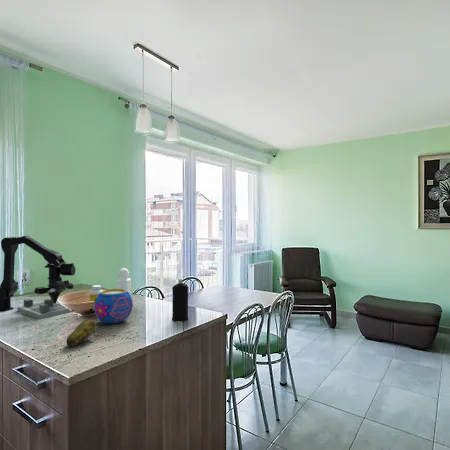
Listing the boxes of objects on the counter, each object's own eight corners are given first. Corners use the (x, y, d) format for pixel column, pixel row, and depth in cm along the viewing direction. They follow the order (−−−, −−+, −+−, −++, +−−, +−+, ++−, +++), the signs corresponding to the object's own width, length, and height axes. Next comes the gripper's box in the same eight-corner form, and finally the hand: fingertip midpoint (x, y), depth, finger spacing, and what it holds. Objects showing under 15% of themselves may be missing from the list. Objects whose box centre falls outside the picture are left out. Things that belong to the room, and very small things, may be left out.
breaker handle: (44, 305, 170) (44, 299, 170) (50, 304, 172) (49, 298, 172) (47, 306, 168) (47, 300, 168) (53, 305, 170) (53, 299, 170)
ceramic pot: (122, 314, 163) (122, 285, 163) (139, 322, 150) (139, 291, 150) (88, 321, 151) (88, 290, 151) (103, 331, 138) (103, 297, 138)
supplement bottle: (98, 311, 169) (98, 287, 169) (87, 310, 170) (87, 286, 170) (105, 307, 175) (105, 285, 175) (94, 307, 177) (94, 284, 177)
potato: (59, 344, 123) (59, 324, 123) (90, 335, 133) (90, 316, 133) (69, 350, 118) (69, 329, 118) (101, 340, 128) (101, 320, 128)
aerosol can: (191, 317, 157) (191, 278, 157) (182, 322, 150) (182, 281, 150) (177, 315, 161) (177, 277, 161) (168, 320, 153) (168, 279, 153)
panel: (17, 310, 169) (17, 300, 169) (51, 303, 183) (51, 294, 183) (39, 319, 154) (39, 308, 154) (74, 310, 169) (74, 300, 169)
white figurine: (131, 305, 181) (131, 267, 181) (126, 308, 174) (126, 269, 174) (120, 304, 182) (120, 267, 181) (115, 307, 175) (115, 268, 175)
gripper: (44, 279, 160) (44, 309, 161) (78, 274, 176) (78, 302, 176) (33, 277, 167) (33, 306, 167) (68, 272, 182) (68, 299, 182)
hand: (54, 303), depth 173 cm, fingers closed
